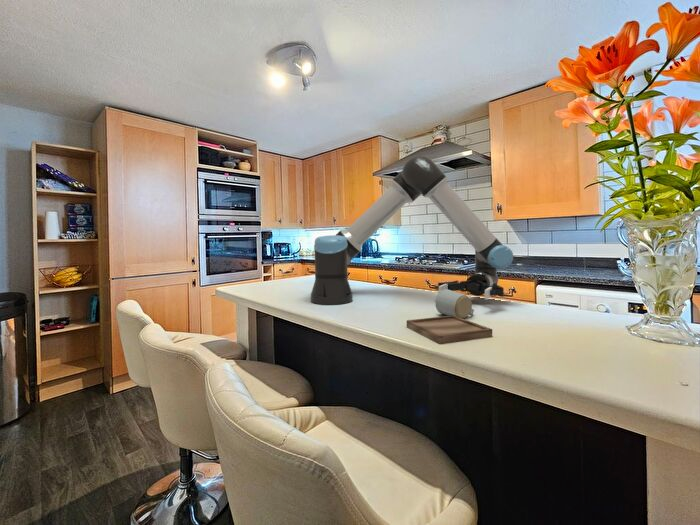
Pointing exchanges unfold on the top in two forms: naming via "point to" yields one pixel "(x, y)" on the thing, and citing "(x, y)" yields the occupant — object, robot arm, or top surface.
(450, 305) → the ceramic mug
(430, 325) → the walnut board
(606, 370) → the top surface
